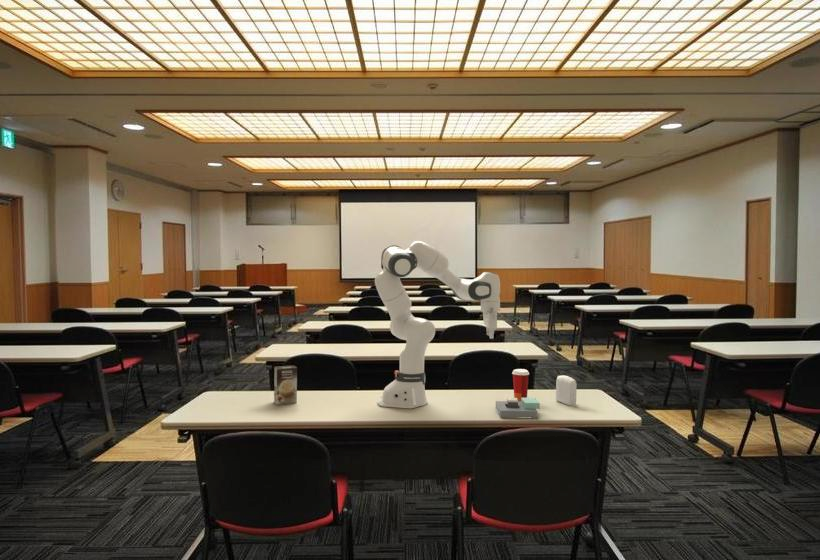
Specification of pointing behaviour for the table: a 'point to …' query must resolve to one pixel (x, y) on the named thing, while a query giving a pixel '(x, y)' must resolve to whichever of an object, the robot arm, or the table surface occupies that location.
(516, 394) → the paper cup
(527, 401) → the mint green block
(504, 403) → the socket
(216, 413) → the table surface
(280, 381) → the coffee box
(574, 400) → the book
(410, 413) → the table surface
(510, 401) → the plug
